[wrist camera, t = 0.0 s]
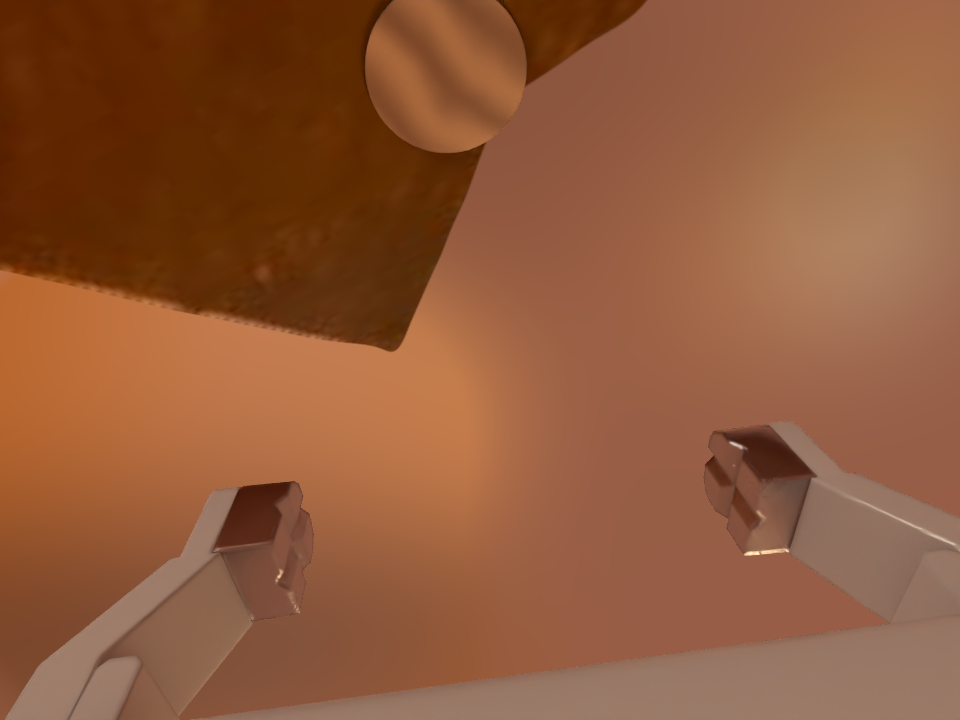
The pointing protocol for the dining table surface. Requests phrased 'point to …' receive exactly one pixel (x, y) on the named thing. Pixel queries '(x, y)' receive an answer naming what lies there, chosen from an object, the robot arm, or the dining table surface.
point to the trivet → (445, 71)
